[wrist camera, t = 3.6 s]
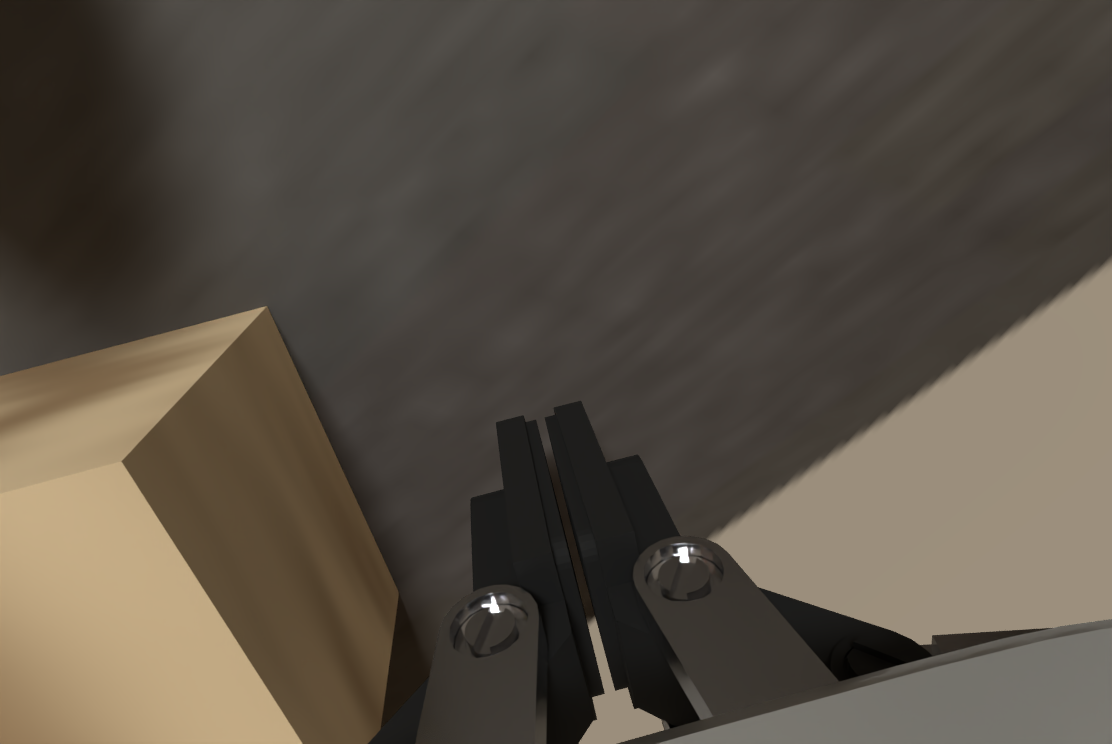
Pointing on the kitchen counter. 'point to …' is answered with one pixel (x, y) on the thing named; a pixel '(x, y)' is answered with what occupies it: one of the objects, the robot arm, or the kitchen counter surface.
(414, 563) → the kitchen counter surface
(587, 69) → the kitchen counter surface
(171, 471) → the block
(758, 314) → the kitchen counter surface
